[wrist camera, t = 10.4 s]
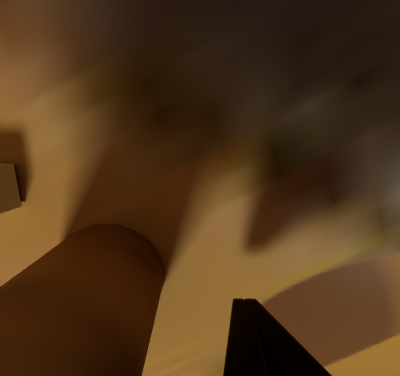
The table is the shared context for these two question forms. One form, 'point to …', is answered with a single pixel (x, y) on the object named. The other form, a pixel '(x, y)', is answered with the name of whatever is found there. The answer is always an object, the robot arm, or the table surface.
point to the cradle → (8, 188)
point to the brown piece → (82, 307)
